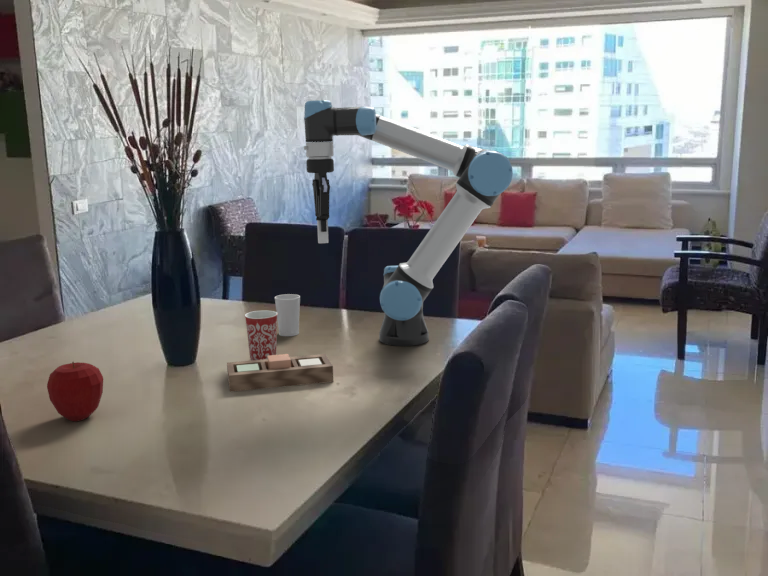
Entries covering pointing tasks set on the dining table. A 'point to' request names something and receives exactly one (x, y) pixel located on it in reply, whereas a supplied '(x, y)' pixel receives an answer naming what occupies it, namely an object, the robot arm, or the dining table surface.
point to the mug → (261, 333)
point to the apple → (75, 390)
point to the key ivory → (309, 362)
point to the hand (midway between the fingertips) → (323, 242)
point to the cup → (288, 314)
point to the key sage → (247, 367)
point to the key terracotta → (279, 361)
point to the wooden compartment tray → (279, 374)
